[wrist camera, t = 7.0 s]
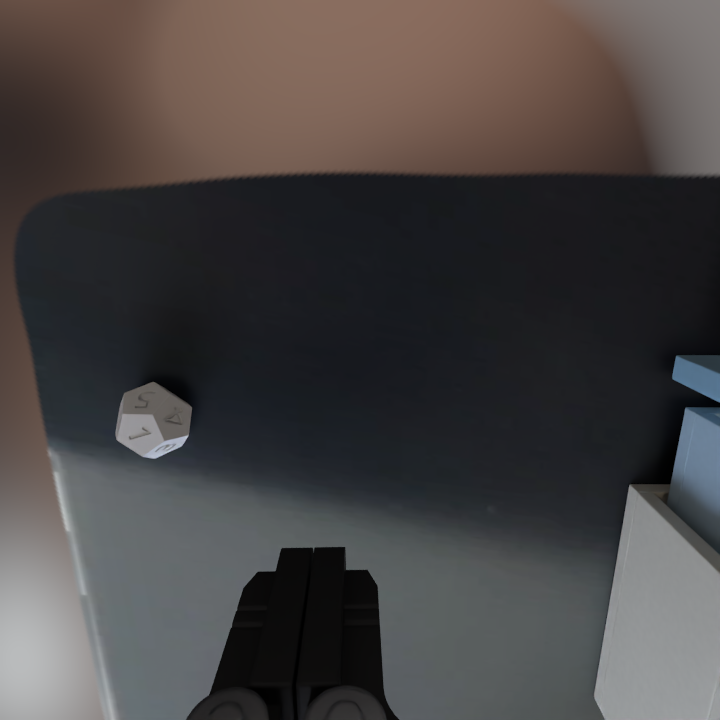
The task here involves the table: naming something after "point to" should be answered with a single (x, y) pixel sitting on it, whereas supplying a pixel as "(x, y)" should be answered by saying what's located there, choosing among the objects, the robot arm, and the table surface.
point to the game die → (153, 420)
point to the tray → (698, 451)
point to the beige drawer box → (661, 618)
